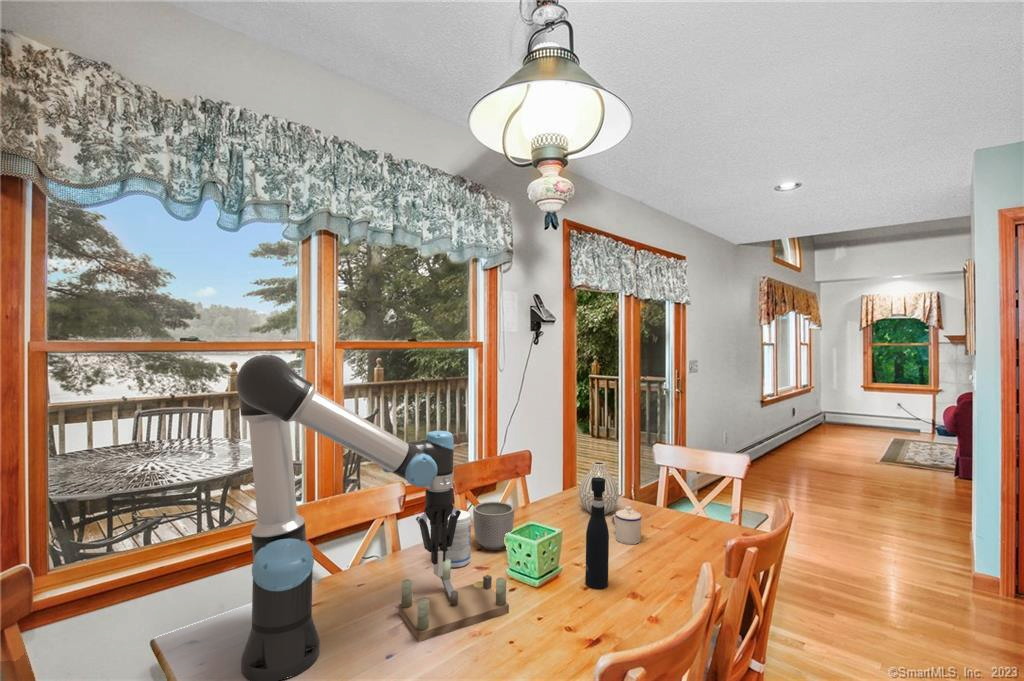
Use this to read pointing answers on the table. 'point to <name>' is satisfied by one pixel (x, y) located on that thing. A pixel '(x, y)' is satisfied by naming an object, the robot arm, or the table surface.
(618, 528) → the teacup with lid
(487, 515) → the planter
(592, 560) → the wine bottle
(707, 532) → the table surface
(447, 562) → the hinged leg
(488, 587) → the wooden peg board
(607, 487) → the vase
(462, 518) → the supplement tub
